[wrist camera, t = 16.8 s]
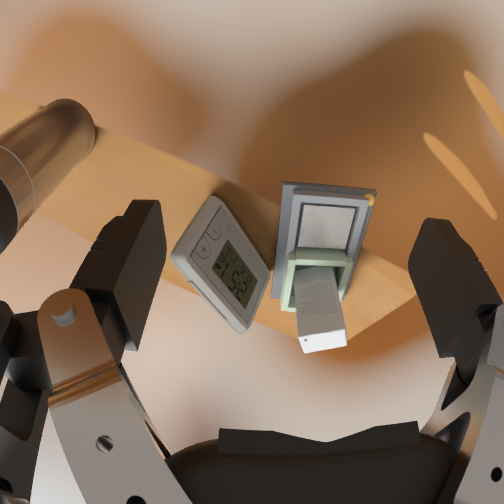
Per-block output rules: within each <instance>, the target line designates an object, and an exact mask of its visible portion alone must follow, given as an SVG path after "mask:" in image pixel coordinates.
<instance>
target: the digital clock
mask: <svg viewBox="0 0 504 504" xmlns="http://www.w3.org/2000/svg"><path fill="white" fill-rule="evenodd" d="M170 258H171V261H172V263H173V264H174V265H175V266H176V268H177V269H178V270H179V271H180V272H181V273H182V275H183V276H184V277H185V278H186V279H187V280H188V282H189V283H190V284H191V285H192V287H193V288H194V289H195V290H196V291H197V292H198V293H199V294H200V295H201V296H202V298H203V299H204V300H205V301H206V302H207V303H208V304H209V305H210V306H211V307H212V308H213V309H214V311H215V312H216V313H217V314H218V315H219V316H220V317H221V318H222V319H223V320H224V321H225V322H226V323H227V324H228V325H229V326H230V327H231V328H232V329H233V330H235V331H236V332H238V333H242V334H243V333H245V332H246V331H247V330H248V328H249V327H250V325H251V323H252V321H253V319H254V316H255V314H256V311H257V309H258V306H259V304H260V301H261V299H262V297H263V294H264V292H265V289H266V287H267V284H268V282H269V279H270V271H269V269H268V268H267V266H266V265H265V263H264V261H263V260H262V258H261V257H260V255H259V254H258V253H257V251H256V250H255V248H254V247H253V245H252V244H251V242H250V241H249V239H248V238H247V236H246V235H245V233H244V232H243V230H242V229H241V227H240V226H239V224H238V223H237V221H236V220H235V218H234V217H233V215H232V214H231V212H230V211H229V209H228V208H227V207H226V205H225V204H224V202H223V201H222V200H220V199H219V198H217V197H216V196H210V197H209V198H207V199H206V200H205V202H204V203H203V204H202V206H201V207H200V209H199V210H198V212H197V213H196V215H195V216H194V218H193V219H192V221H191V222H190V224H189V225H188V227H187V228H186V230H185V231H184V233H183V234H182V236H181V237H180V239H179V240H178V242H177V243H176V245H175V246H174V248H173V250H172V252H171V255H170Z"/></svg>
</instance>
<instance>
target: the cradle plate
mask: <svg viewBox="0 0 504 504" xmlns="http://www.w3.org/2000/svg"><path fill="white" fill-rule="evenodd" d="M354 213H355V207H354V206H346V205H333V204H320V203H306V202H303V209H302V216H301V223H300V229H299V236H298V242H297V244H298V247H315V248H333V249H345V247H346V243H347V240H348V236H349V232H350V228H351V224H352V220H353V217H354Z"/></svg>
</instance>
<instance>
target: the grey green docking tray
mask: <svg viewBox="0 0 504 504" xmlns="http://www.w3.org/2000/svg"><path fill="white" fill-rule="evenodd" d="M376 193H377V192H376V190H375V189H366V188H356V187H345V186H335V185H324V184H310V183H297V182H283V188H282V198H281V208H280V218H279V228H278V237H277V246H276V256H275V265H274V274H273V283H272V291H271V298H278V299H281V310H283V311H287V312H296V305H295V292H294V281H293V275H294V271H295V270H300V269H305V268H310V267H314V266H333V270H334V275H335V280H336V284H337V289H338V294H339V299H340V302H341V301H344V298H345V295H346V292H347V289H348V286H349V283H350V280H351V277H352V274H353V271H354V268H355V265H356V262H357V259H358V256H359V252H360V249H361V246H362V243H363V239H364V236H365V233H366V229H367V226H368V222H369V219H370V215H371V212H372V208H373V205H374V202H375V197H376ZM303 202H306V203H320V204H333V205H346V206H354V207H355V213H354V217H353V220H352V224H351V228H350V232H349V236H348V240H347V243H346V247H345V249H333V248H315V247H298V244H297V242H298V236H299V229H300V223H301V216H302V209H303Z"/></svg>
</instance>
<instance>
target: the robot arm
mask: <svg viewBox="0 0 504 504" xmlns="http://www.w3.org/2000/svg"><path fill="white" fill-rule="evenodd" d="M95 136H96V135H95V126H94V122H93V120H92V118H91V115H90V114H89V112H88V111H87V110H86V109H85V108H84V107H83V106H82V105H81V104H80V103H78V102H76V101H74V100H71V99H59V100H56V101H54V102H52V103H50V104H48V105H47V106H45V107H43V108H41V109H40V110H38V111H36V112H34V113H33V114H31V115H29V116H28V117H26V118H25V119H23V120H22V121H20V122H18V123H17V124H15V125H14V126H12V127H11V128H9V129H8V130H6V131H5V132H3V133H2V134H1V135H0V254H1V253H2V252H3V251H4V250H5V248H6V247H7V246H8V245H9V243H10V242H11V241H12V239H13V238H14V237H15V236H16V235H17V233H18V232H19V231H20V229H21V228H22V227H23V226H24V224H25V223H26V222H27V221H28V220H29V218H30V217H31V216H32V215H33V213H34V212H35V211H36V210H37V209H38V208H39V206H40V205H41V204H42V203H43V202H44V201H45V200H46V198H47V197H48V196H49V195H50V194H51V193H52V192H53V191H54V190H55V188H56V187H57V186H58V185H59V184H60V183H61V182H62V181H63V180H64V179H65V178H66V177H67V176H68V175H69V174H70V173H71V172H72V171H73V170H74V169H75V168H76V167H77V166H78V164H79V163H80V162H81V161H82V160H83V159H84V158H85V157H86V156H87V155H88V154H89V153H90V152H91V150H92V148H93V146H94V143H95ZM96 239H97V240H96V241H95V242H94V243H93V245H92V247H91V251H89V252H88V254H87V256H86V257H85V259H84V261H83V263H82V264H81V266H80V268H79V270H78V272H77V274H76V276H75V277H74V279H73V281H72V283H71V285H70V287H69V289H63V290H60V291H58V292H55V293H53V294H52V295H50V296H49V297H48V298H47V299H46V300H45V301H44V302H43V304H42V305H41V307H40V309H39V310H38V311H32V312H26V313H19V314H14V313H13V311H12V310H11V308H10V307H9V305H8V304H7V303H6V302H4V301H1V300H0V385H1V381H2V379H3V376H4V375H5V376H6V377H7V378H8V381H7V384H6V387H5V390H4V393H3V396H2V399H1V402H0V504H30V497H31V490H32V483H33V477H34V471H35V466H36V461H37V456H38V450H39V445H40V441H41V437H42V432H43V428H44V423H45V419H46V415H47V412H48V408H49V409H50V413H51V416H52V419H53V422H54V425H55V428H56V431H57V434H58V437H59V440H60V443H61V445H62V448H63V450H64V453H65V456H66V458H67V461H68V463H69V466H70V468H71V471H72V473H73V475H74V478H75V480H76V482H77V484H78V486H79V489H80V491H81V493H82V495H83V497H84V499H85V501H86V503H87V504H504V304H503V302H502V300H501V298H500V296H499V294H498V293H497V290H496V289H495V287H494V285H493V283H492V281H491V280H490V278H489V276H488V274H487V273H486V271H484V267H483V266H482V264H481V262H480V261H478V257H477V256H476V255H475V253H474V251H473V249H472V248H471V247H470V246H469V245H468V244H467V243H466V242H465V241H464V240H463V239H462V238H461V237H460V236H459V234H458V233H457V231H456V229H455V228H454V226H453V225H452V223H451V222H450V221H449V220H445V219H435V218H427V219H425V220H424V222H423V224H422V226H421V229H420V231H419V234H418V236H417V239H416V241H415V244H414V246H413V249H412V251H411V253H410V256H409V261H408V270H409V275H410V277H411V280H412V282H413V285H414V287H415V290H416V292H417V295H418V297H419V300H420V302H421V305H422V308H423V311H424V313H425V316H426V319H427V322H428V324H429V327H430V330H431V333H432V336H433V339H434V342H435V345H436V348H437V351H438V354H439V357H440V358H445V357H454V358H455V362H454V363H453V365H452V366H451V368H450V370H449V373H448V376H447V378H446V381H445V384H444V387H443V389H442V392H441V394H440V397H439V399H438V402H437V404H436V407H435V409H434V411H433V414H432V416H431V417H430V419H429V420H428V422H427V423H426V424H425V426H424V427H423V428H422V429H421V431H420V432H419V428H418V422H417V421H412V422H406V423H398V424H391V425H383V426H375V427H372V428H369V429H367V430H364V431H361V432H358V433H355V434H353V435H350V436H347V437H344V438H341V439H338V440H334V441H331V442H320V441H314V440H310V439H305V438H300V437H296V436H291V435H287V434H283V433H279V432H275V431H259V430H238V429H223V428H220V429H219V438H218V439H214V440H208V441H204V442H201V443H197V444H194V445H192V446H189V447H187V448H184V449H182V450H181V451H178V452H176V453H174V454H173V455H172V454H171V452H170V450H169V449H168V447H167V445H166V444H165V442H164V441H163V439H162V437H161V436H160V434H159V432H158V431H157V429H156V428H155V426H154V424H153V423H152V421H151V419H150V418H149V416H148V414H147V413H146V410H145V409H144V407H143V405H142V403H141V401H140V399H139V397H138V395H137V394H136V391H135V389H134V388H133V385H132V383H131V382H130V380H129V377H128V376H127V373H126V371H125V369H124V367H123V365H122V363H121V358H122V355H123V352H124V349H125V350H132V351H138V348H139V344H140V340H141V337H142V334H143V330H144V327H145V324H146V320H147V317H148V314H149V310H150V307H151V304H152V301H153V297H154V294H155V291H156V288H157V285H158V282H159V279H160V276H161V273H162V270H163V267H164V264H165V260H166V252H167V245H166V237H165V231H164V224H163V218H162V211H161V205H160V202H159V201H158V200H132V202H131V203H130V205H129V206H128V208H127V210H126V212H125V213H124V215H123V216H116V217H115V218H113V219H112V220H111V221H110V222H109V223H107V224H106V225H105V226H104V227H103V228H102V230H101V232H100V233H99V235H98V237H97V238H96ZM53 391H54V392H53Z"/></svg>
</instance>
